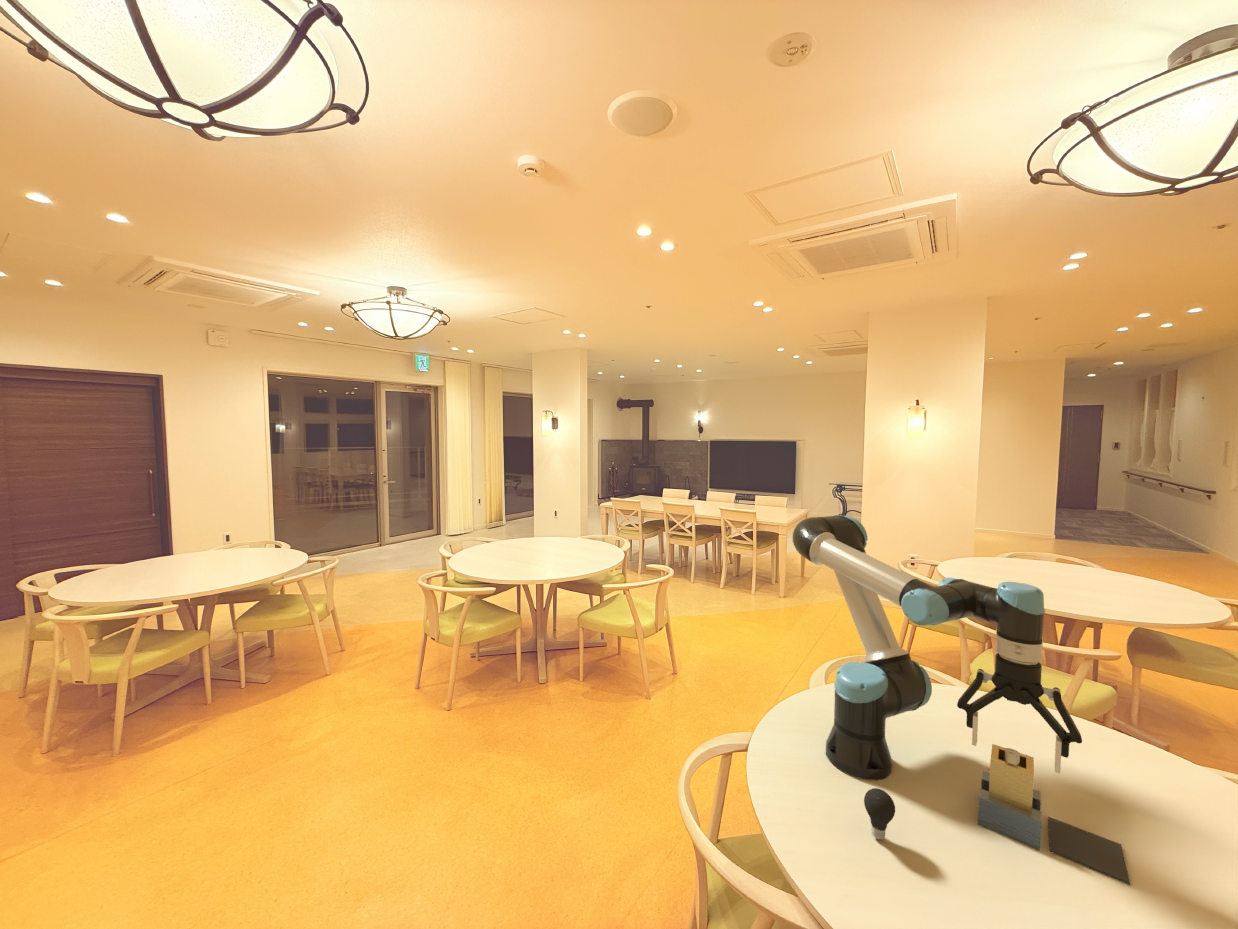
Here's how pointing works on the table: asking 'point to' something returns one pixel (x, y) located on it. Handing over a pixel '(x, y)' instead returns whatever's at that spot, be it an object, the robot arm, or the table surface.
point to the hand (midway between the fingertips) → (1014, 755)
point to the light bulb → (879, 811)
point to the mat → (1087, 849)
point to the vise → (1010, 812)
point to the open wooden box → (1011, 779)
